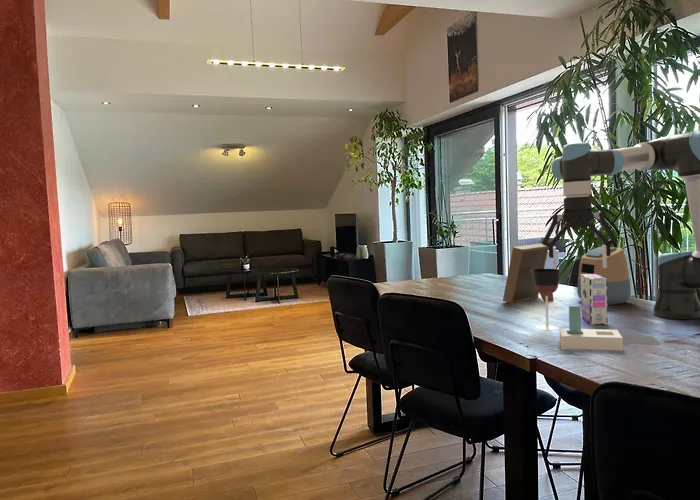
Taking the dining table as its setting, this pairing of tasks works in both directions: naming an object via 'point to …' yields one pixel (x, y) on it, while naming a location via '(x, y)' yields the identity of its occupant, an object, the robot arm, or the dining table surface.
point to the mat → (640, 340)
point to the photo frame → (525, 273)
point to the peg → (574, 319)
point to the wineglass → (546, 288)
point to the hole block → (591, 339)
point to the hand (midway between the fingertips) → (579, 268)
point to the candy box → (594, 299)
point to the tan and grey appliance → (608, 273)
